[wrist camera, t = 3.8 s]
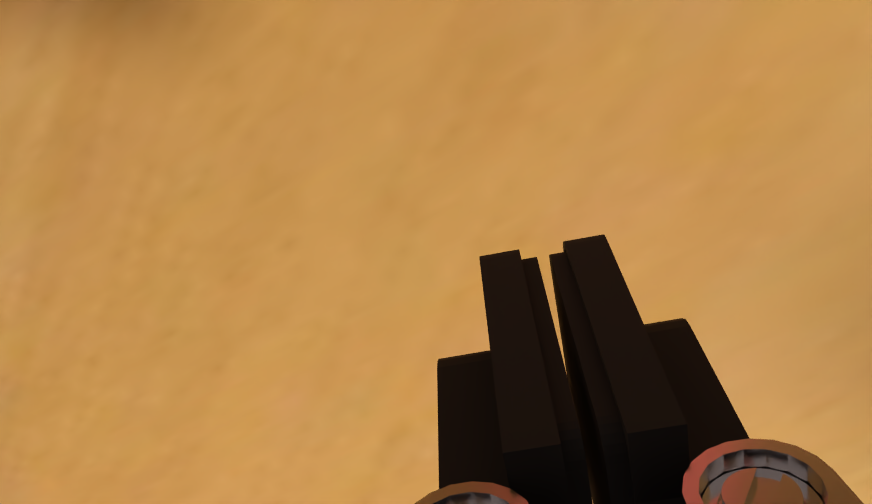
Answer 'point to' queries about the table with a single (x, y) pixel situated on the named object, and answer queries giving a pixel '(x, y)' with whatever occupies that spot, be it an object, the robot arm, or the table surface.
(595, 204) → the table surface
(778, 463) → the robot arm
